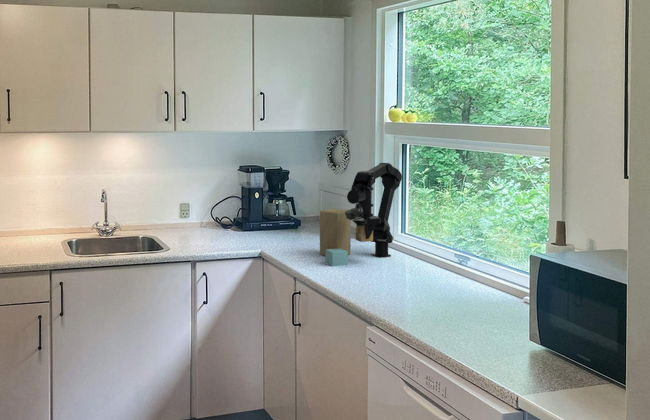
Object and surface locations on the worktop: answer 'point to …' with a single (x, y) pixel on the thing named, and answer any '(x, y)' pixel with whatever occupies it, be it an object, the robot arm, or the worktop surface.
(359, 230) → the walnut cube
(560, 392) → the worktop surface
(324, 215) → the wooden block
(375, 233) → the robot arm
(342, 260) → the teal block
